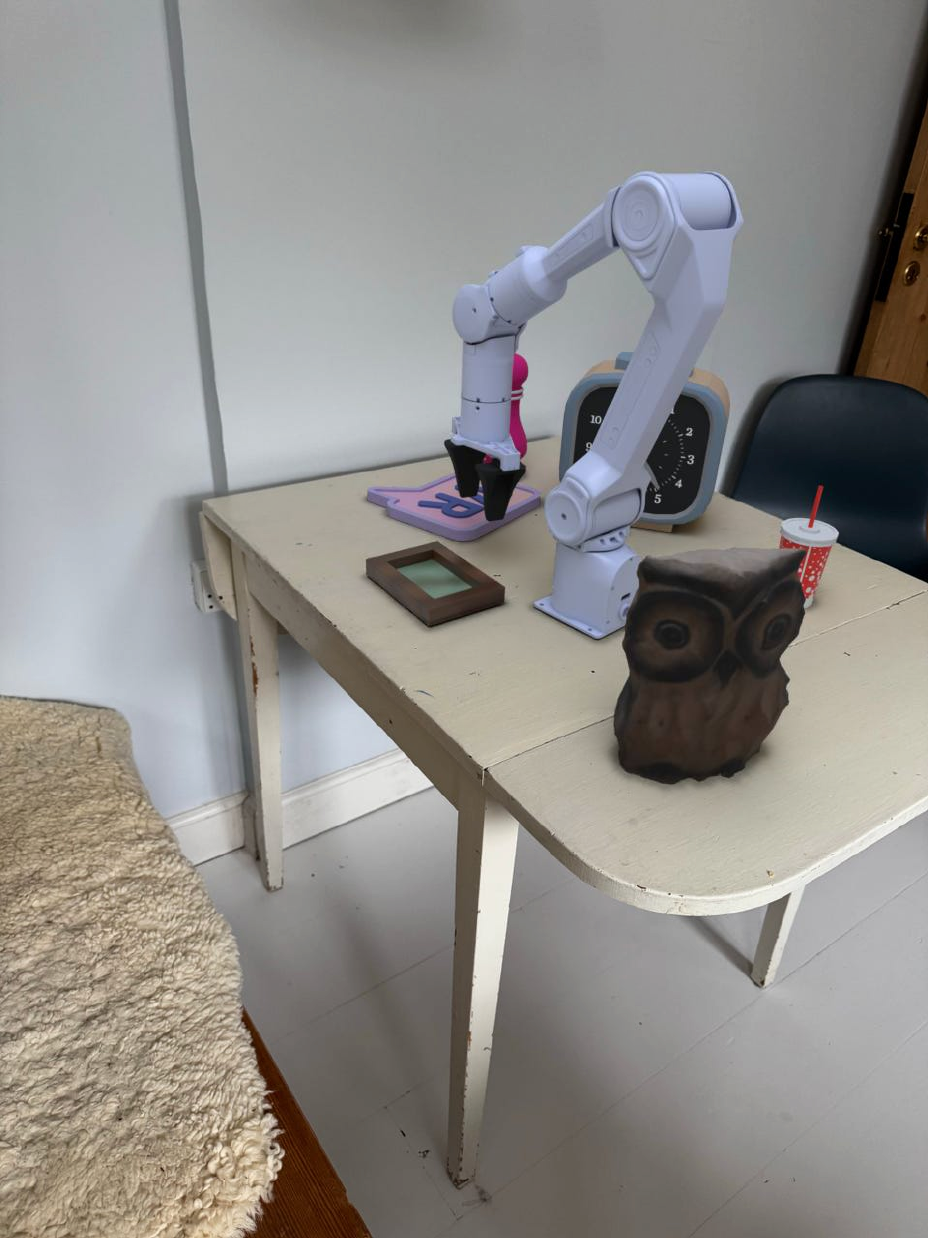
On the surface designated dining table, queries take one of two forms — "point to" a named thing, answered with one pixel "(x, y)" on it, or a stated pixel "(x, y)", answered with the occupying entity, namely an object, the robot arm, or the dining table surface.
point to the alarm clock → (657, 441)
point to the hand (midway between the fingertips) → (481, 507)
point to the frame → (435, 582)
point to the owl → (706, 660)
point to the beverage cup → (809, 547)
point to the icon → (449, 507)
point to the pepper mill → (516, 406)
